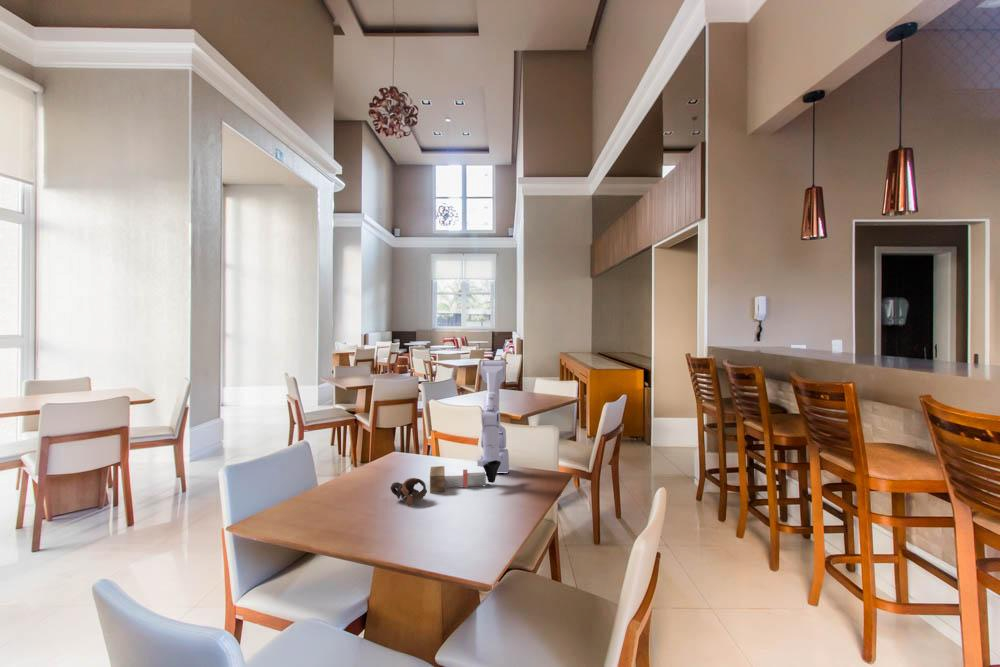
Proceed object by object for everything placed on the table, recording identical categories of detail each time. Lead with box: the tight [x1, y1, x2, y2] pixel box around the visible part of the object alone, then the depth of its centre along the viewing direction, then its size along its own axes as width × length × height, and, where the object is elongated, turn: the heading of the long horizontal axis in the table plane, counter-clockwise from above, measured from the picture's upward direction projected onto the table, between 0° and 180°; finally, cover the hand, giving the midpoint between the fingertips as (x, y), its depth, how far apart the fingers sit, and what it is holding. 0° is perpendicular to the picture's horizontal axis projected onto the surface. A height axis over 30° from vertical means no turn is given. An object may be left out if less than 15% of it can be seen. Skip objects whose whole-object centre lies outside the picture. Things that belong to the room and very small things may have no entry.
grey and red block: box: [445, 469, 487, 488], centre depth 171 cm, size 16×6×5 cm, turn 95°
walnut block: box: [429, 465, 446, 494], centre depth 169 cm, size 5×12×6 cm, turn 7°
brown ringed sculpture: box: [390, 477, 428, 506], centre depth 155 cm, size 12×10×8 cm
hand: (491, 481), depth 172 cm, fingers closed
